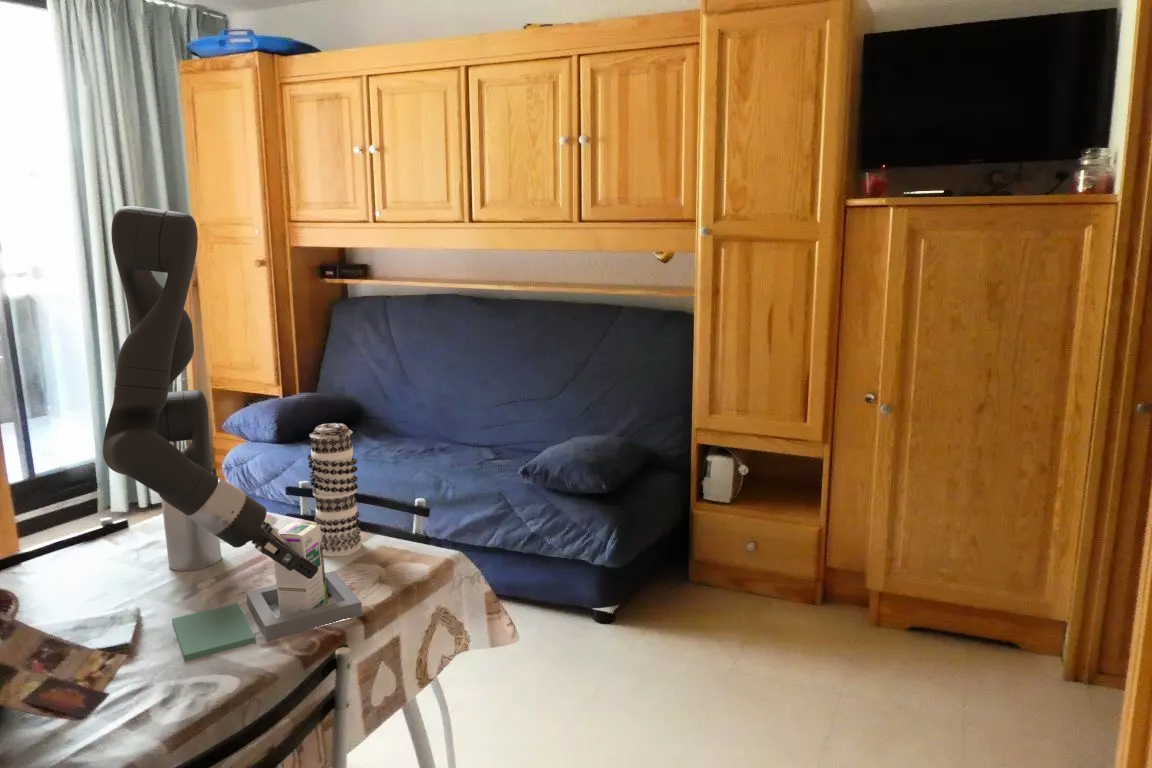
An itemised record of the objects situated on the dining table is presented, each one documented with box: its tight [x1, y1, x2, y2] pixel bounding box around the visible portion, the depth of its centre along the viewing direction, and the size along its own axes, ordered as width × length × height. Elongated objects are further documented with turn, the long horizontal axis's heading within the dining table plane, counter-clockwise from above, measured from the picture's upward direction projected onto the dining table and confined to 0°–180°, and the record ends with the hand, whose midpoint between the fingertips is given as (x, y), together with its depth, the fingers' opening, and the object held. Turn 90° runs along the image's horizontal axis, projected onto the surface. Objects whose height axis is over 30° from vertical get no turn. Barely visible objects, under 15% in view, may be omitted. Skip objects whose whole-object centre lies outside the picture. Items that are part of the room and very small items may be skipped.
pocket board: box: [245, 570, 363, 642], centre depth 137 cm, size 15×15×2 cm
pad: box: [171, 602, 256, 662], centre depth 130 cm, size 14×10×1 cm
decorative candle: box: [307, 422, 362, 557], centre depth 161 cm, size 9×9×25 cm
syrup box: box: [273, 521, 329, 617], centre depth 136 cm, size 6×6×14 cm
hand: (307, 564), depth 136 cm, fingers open, 8 cm apart
